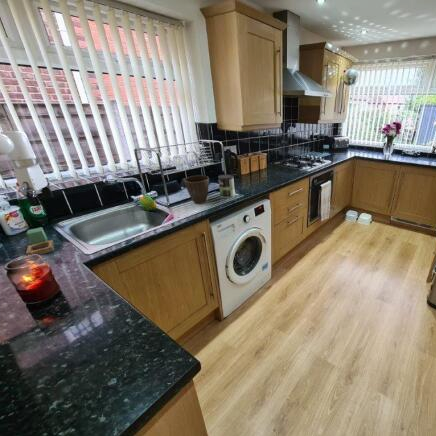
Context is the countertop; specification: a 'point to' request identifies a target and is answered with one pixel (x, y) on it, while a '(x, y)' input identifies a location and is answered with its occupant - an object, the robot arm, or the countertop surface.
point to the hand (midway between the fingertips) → (43, 201)
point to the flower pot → (197, 188)
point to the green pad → (37, 235)
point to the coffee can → (226, 186)
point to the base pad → (40, 245)
